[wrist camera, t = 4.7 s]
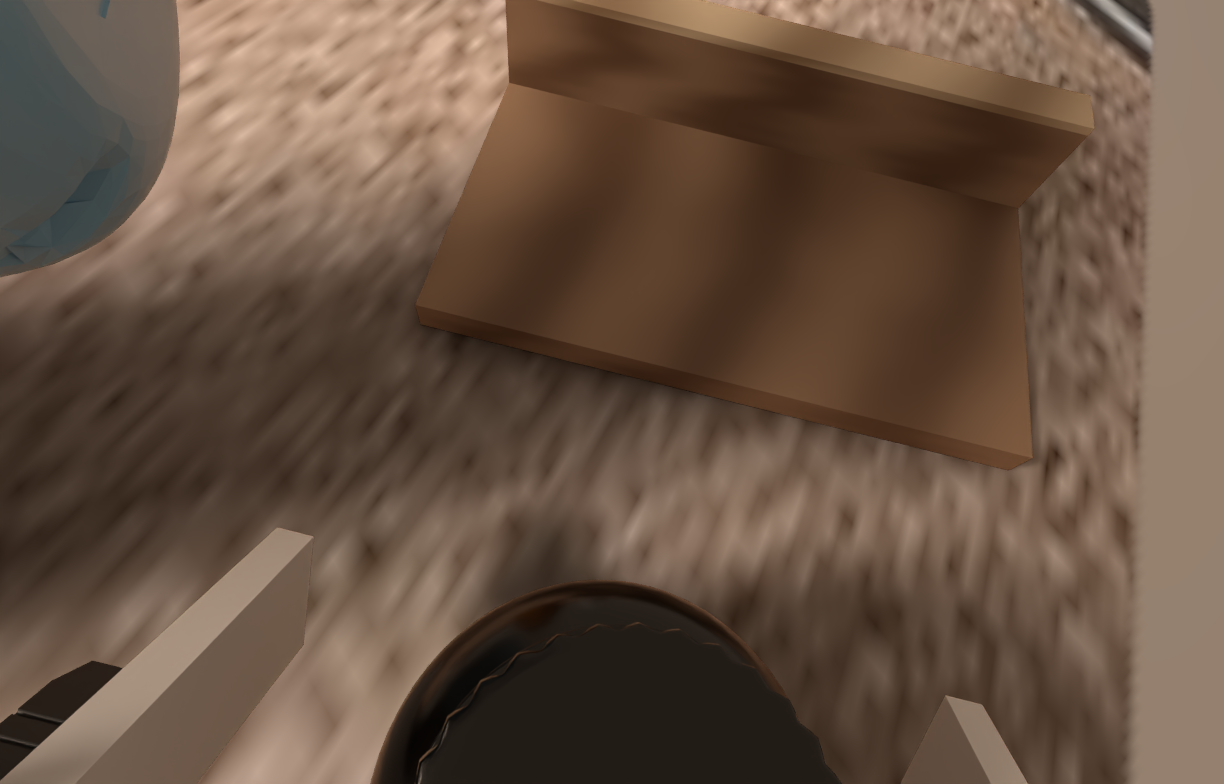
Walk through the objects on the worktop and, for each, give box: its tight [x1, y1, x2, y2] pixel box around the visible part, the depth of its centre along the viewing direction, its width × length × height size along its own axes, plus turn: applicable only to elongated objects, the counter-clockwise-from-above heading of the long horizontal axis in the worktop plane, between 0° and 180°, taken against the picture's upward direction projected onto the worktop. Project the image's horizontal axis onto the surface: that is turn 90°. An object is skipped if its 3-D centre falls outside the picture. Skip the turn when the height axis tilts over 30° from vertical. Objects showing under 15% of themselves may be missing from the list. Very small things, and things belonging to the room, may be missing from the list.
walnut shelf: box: [415, 0, 1095, 470], centre depth 22 cm, size 20×12×5 cm, turn 77°
